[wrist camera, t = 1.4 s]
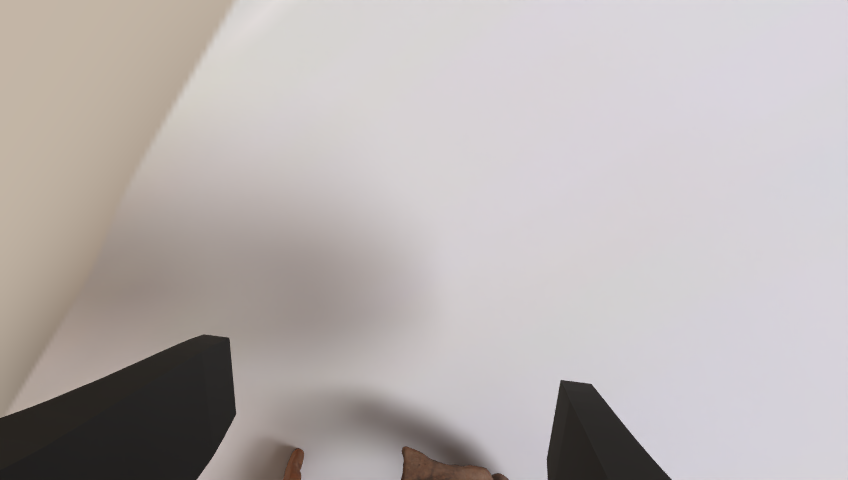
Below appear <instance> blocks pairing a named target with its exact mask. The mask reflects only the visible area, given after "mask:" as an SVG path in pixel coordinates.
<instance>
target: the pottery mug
mask: <svg viewBox="0 0 848 480" xmlns="http://www.w3.org/2000/svg"><path fill="white" fill-rule="evenodd" d="M402 454H403V457H404V463H403V474H402V478H401V480H508V478H507V477H505V476H504V475H502V474H500V473H497V474H494V475H492V476H491V474H490V472H489V471H488V470H487V469H486V468H483V467H478V466H472V465H467V466H459V465H446V464H443V463H440V462H437V461H435V460H432V459H430V458H428V457H427V456H426V455H424V454H423V453H421V452H419V451H417V450H415V449H412V448H409V447H407V446H404V447H403V449H402ZM303 458H304V452H303V450H301V449H299V448H297V449H296V450H294V451H293V453H292V455H291V457H290V459H289V462H288V464H287V467H286V470H285V475H284V478H283V480H301V472H300V469H301V466H302V463H303Z"/></svg>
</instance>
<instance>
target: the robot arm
mask: <svg viewBox="0 0 848 480" xmlns="http://www.w3.org/2000/svg"><path fill="white" fill-rule="evenodd" d="M235 415H236V408H235V396H234V385H233V374H232V363H231V352H230V341H229V338H227V337H219V336H211V335H201V336H198V337H195V338H192V339H190V340H187V341H185V342H182V343H180V344H178V345H175V346H173V347H171V348H168V349H166V350H164V351H162V352H159V353H157V354H155V355H153V356H151V357H148V358H146V359H144V360H142V361H139V362H137V363H135V364H133V365H131V366H128V367H126V368H124V369H122V370H119V371H117V372H115V373H113V374H110V375H108V376H106V377H104V378H101V379H99V380H96V381H94V382H92V383H89V384H87V385H84V386H82V387H80V388H77V389H75V390H72V391H70V392H68V393H65V394H63V395H60V396H58V397H55V398H53V399H51V400H48V401H46V402H43V403H40V404H38V405H35V406H33V407H30V408H27V409H24V410H22V411H19V412H16V413H14V414H11V415H8V416H5V417H2V418H0V480H197V478H198V477H199V476H200V474H201V473H202V471H203V470H204V469H205V467H206V466H207V464H208V463H209V461H210V460H211V459H212V457H213V456H214V454H215V452H216V450H217V449H218V447H219V445H220V443H221V442H222V440H223V438H224V436H225V434H226V432H227V431H228V429H229V427H230V425H231V423H232V421H233V419H234V417H235ZM547 471H548V480H671V478H670V477H669V476H668V475H667V474H666V473H665V472H664V471H663V470H662V469H661V468H660V466H659V465H658V464H657V463H656V462H655V461H654V460H653V459H652V458H651V456H650V455H649V454H648V453H647V452H646V451H645V449H644V448H643V447H642V446H641V445H640V444H639V442H638V441H637V440H636V439H635V438H634V436H633V435H632V434H631V433H630V432H629V430H628V429H627V428H626V427H625V425H624V424H623V423H622V422H621V420H620V419H619V418H618V417H617V415H616V414H615V413H614V412H613V410H612V409H611V408H610V407H609V405H608V404H607V403H606V402H605V400H604V399H603V398H602V397H601V395H600V394H599V393H598V392H597V390H596V389H595V388H594V387H593V385H592V384H587V383H579V382H572V381H564V380H561V381H560V387H559V393H558V399H557V404H556V410H555V416H554V422H553V427H552V433H551V439H550V445H549V450H548V456H547Z"/></svg>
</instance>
